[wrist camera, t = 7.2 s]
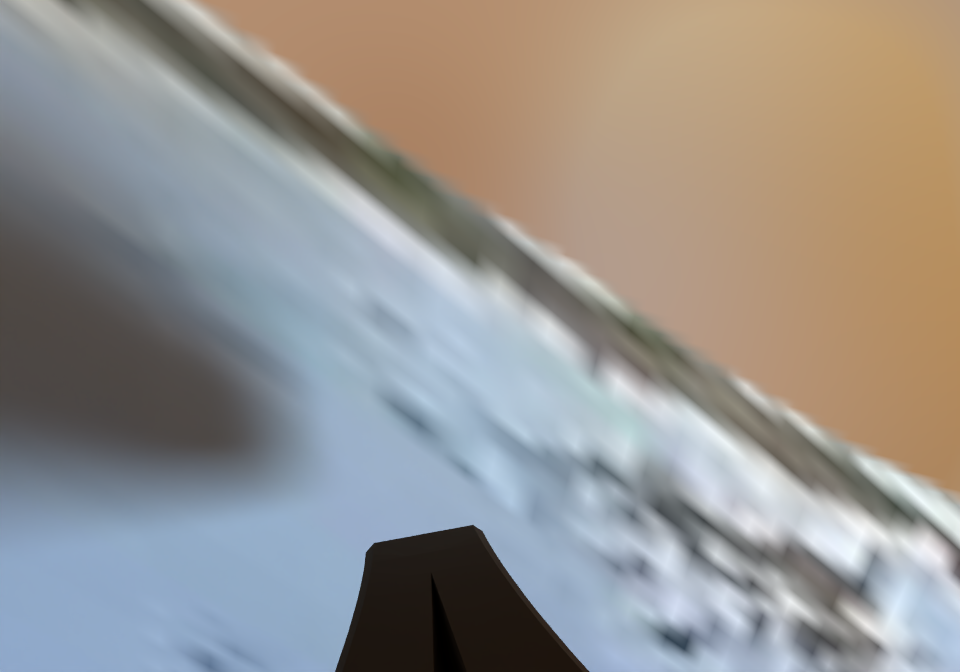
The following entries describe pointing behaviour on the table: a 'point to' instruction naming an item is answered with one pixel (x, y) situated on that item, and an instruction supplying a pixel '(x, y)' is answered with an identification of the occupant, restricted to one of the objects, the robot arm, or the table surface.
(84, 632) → the table surface
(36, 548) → the table surface
